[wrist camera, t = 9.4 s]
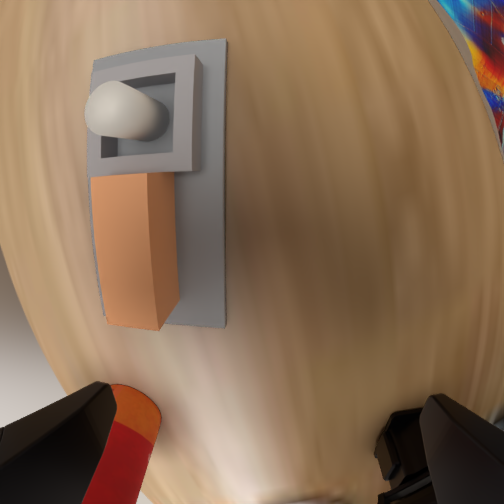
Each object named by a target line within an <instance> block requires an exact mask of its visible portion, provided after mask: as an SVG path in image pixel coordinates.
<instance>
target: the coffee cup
mask: <svg viewBox="0 0 504 504" xmlns="http://www.w3.org/2000/svg"><path fill="white" fill-rule="evenodd" d="M111 388H112V391H113V394H114V397H115V400H116V403H117V412H116V415H115V418H114V421H113V424H112V427H111V430H110V434H109V437H108V440H107V443H106V447H105V449H104V452H103V455H102V457H101V459H100V462H99V464H98V466H97V469H96V471H95V473H94V475H93V478H92V480H91V482H90V485H89V487H88V490H87V492H86V494H85V497H84V499H83V502H82V504H136V502H137V498H138V495H139V491H140V489H141V485H142V482H143V479H144V476H145V473H146V469H147V466H148V463H149V460H150V457H151V454H152V450H153V447H154V444H155V441H156V438H157V434H158V431H159V428H160V424H161V414H160V411H159V409H158V407H157V406H156V405H155V403H154V402H153V401H152V400H151V399H150V398H148V397H147V396H146V395H145V394H143V393H142V392H140V391H138V390H136V389H134V388H132V387H129V386H125V385H118V384H116V385H111Z"/></svg>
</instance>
